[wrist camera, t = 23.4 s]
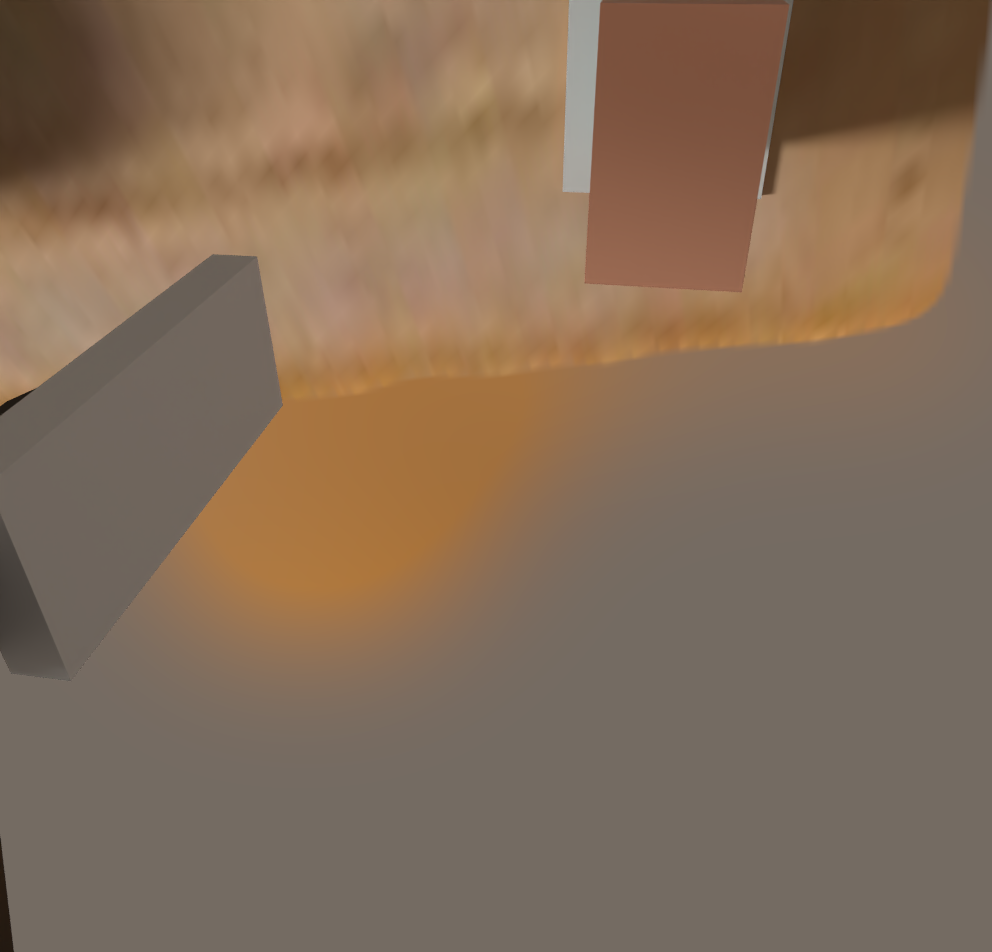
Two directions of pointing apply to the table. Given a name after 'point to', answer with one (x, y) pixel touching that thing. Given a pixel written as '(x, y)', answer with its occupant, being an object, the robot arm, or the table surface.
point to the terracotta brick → (680, 139)
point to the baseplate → (583, 94)
